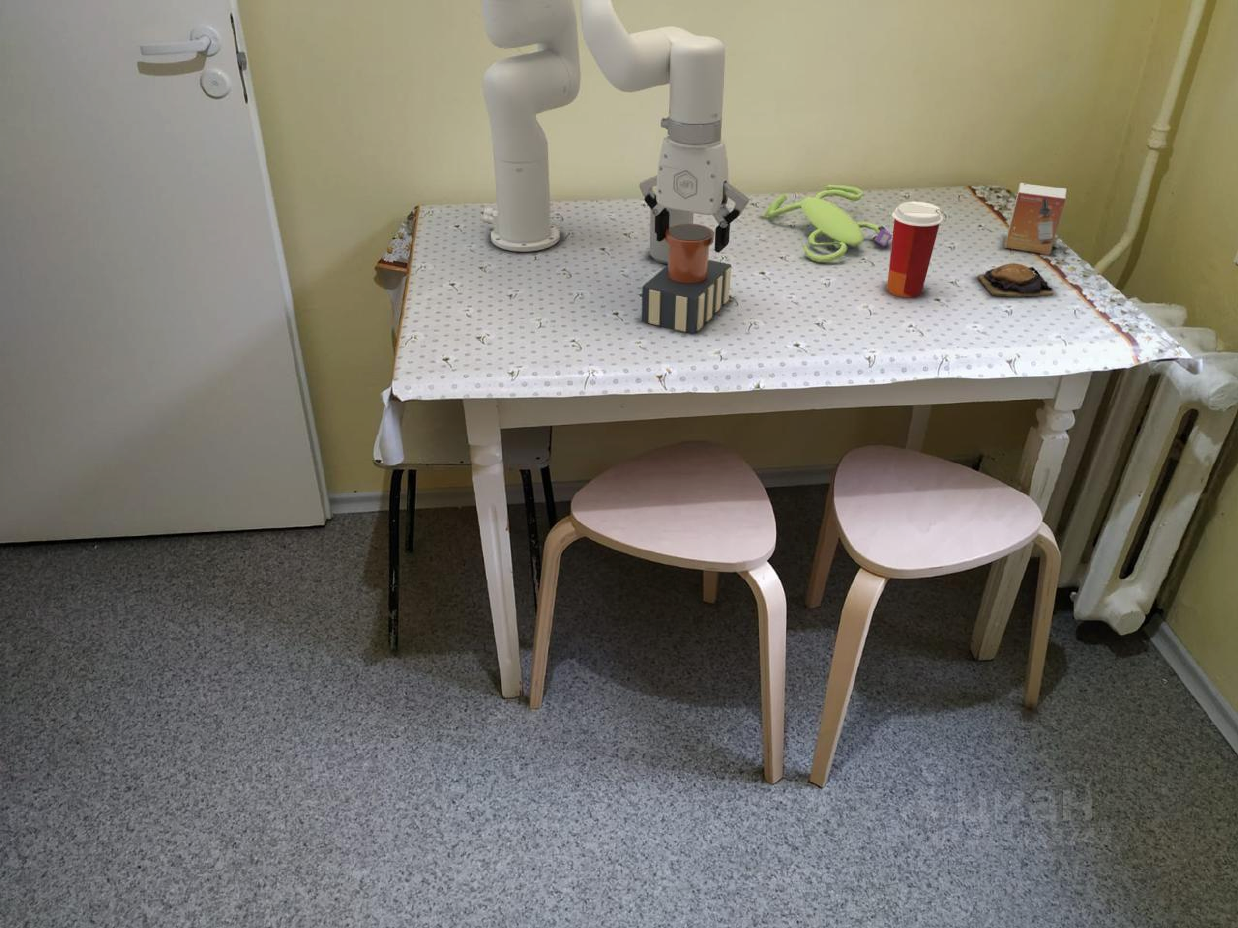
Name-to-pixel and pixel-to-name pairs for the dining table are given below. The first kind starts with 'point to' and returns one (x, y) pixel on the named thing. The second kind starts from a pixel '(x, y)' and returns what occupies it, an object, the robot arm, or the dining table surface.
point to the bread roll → (1015, 281)
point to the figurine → (830, 221)
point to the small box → (1035, 218)
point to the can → (662, 248)
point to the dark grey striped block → (685, 299)
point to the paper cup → (912, 247)
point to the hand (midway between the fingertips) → (691, 244)
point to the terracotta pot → (688, 252)
